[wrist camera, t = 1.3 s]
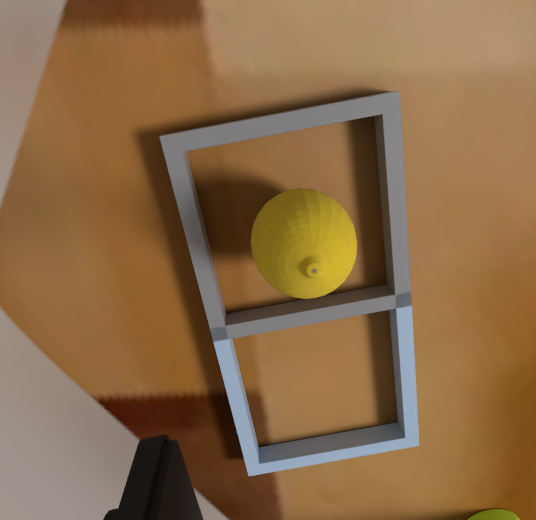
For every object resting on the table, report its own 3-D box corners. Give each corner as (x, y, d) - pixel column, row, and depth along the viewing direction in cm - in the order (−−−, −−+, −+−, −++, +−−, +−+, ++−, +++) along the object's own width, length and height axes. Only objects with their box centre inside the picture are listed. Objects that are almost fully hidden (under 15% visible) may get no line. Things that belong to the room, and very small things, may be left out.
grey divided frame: (164, 134, 24) (159, 136, 22) (389, 91, 23) (399, 90, 22) (248, 459, 33) (248, 476, 31) (411, 429, 33) (419, 445, 31)
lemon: (232, 230, 26) (228, 284, 18) (286, 158, 24) (305, 184, 17) (300, 278, 27) (322, 345, 20) (356, 212, 26) (401, 257, 18)
